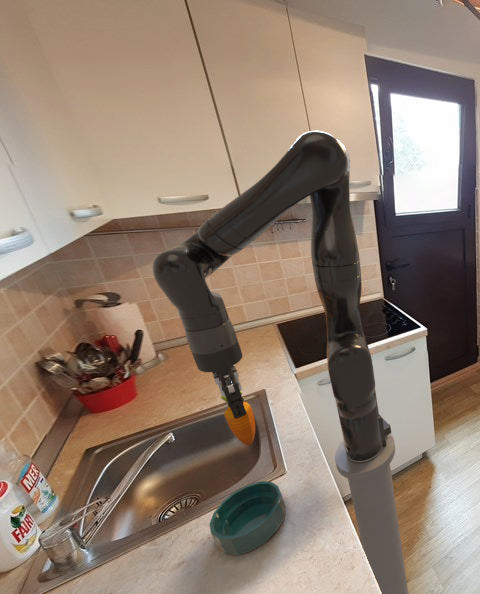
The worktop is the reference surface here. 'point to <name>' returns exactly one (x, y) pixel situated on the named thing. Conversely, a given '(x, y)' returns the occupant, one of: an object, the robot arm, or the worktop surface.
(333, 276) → the robot arm
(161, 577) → the worktop surface
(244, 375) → the worktop surface
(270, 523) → the bowl
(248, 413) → the carrot
